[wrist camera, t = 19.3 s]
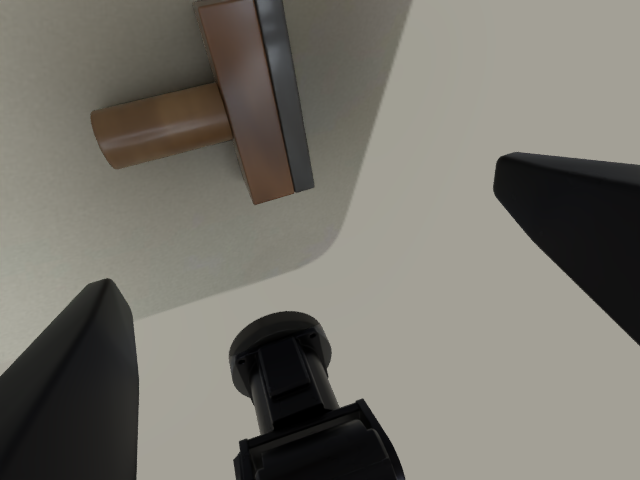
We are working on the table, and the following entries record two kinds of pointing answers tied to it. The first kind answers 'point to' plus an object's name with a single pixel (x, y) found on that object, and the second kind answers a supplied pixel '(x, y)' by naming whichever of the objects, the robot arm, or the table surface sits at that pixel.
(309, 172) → the brush
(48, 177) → the table surface
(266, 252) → the table surface
